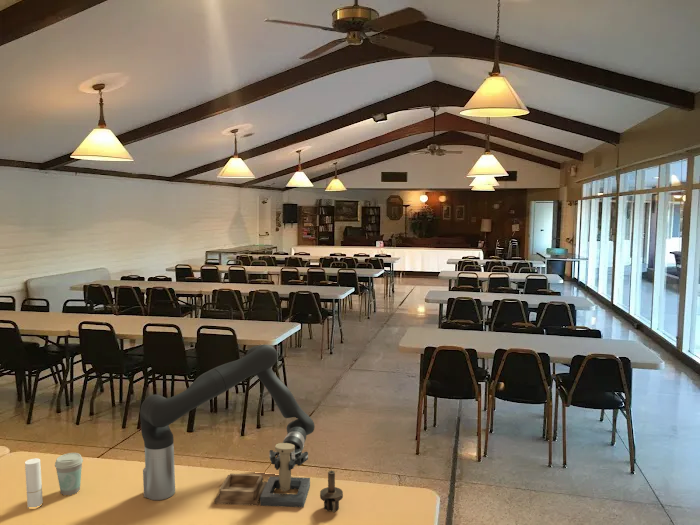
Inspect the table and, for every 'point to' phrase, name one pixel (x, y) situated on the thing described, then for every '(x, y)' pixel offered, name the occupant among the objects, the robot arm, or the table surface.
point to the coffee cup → (69, 472)
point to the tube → (33, 482)
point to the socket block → (285, 499)
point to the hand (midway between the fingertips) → (283, 467)
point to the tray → (241, 489)
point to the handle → (284, 464)
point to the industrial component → (331, 494)
